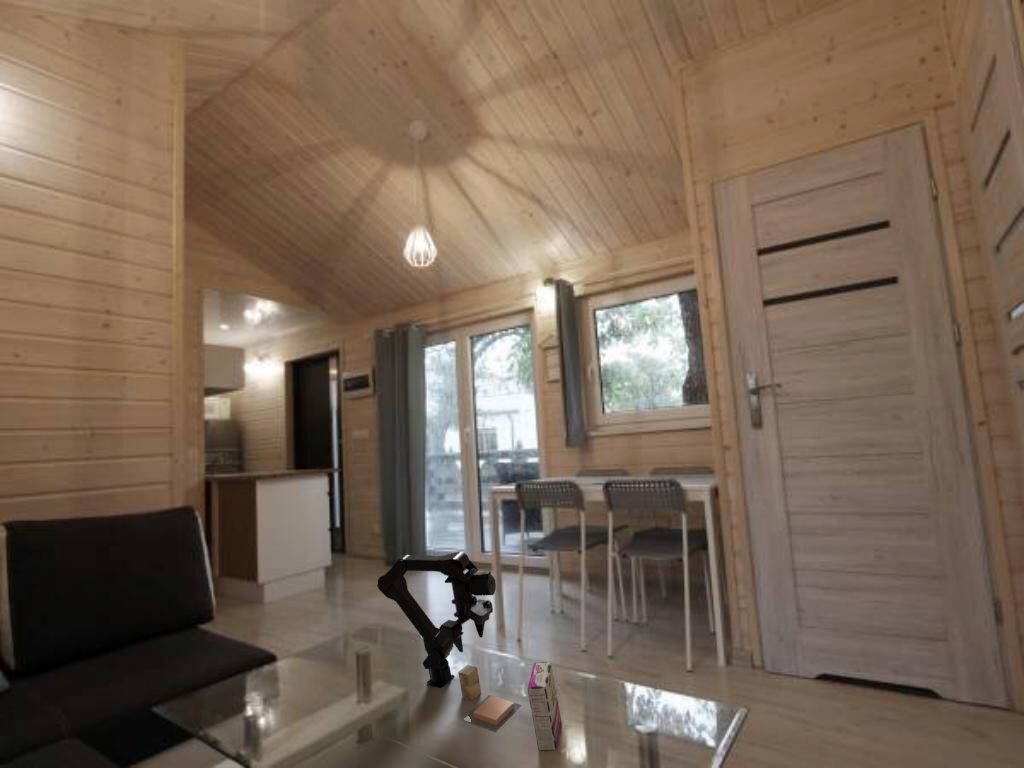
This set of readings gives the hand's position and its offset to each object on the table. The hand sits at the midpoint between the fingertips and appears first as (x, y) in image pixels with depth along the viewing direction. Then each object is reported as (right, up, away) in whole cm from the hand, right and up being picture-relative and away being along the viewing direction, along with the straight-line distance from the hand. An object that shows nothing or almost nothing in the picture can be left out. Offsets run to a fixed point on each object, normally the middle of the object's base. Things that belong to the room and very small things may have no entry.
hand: (471, 644), depth 169 cm
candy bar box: (+22, -10, -29) cm, 38 cm away
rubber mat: (+7, -12, -16) cm, 21 cm away
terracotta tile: (+4, -11, -14) cm, 18 cm away
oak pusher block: (+1, -12, -6) cm, 14 cm away
